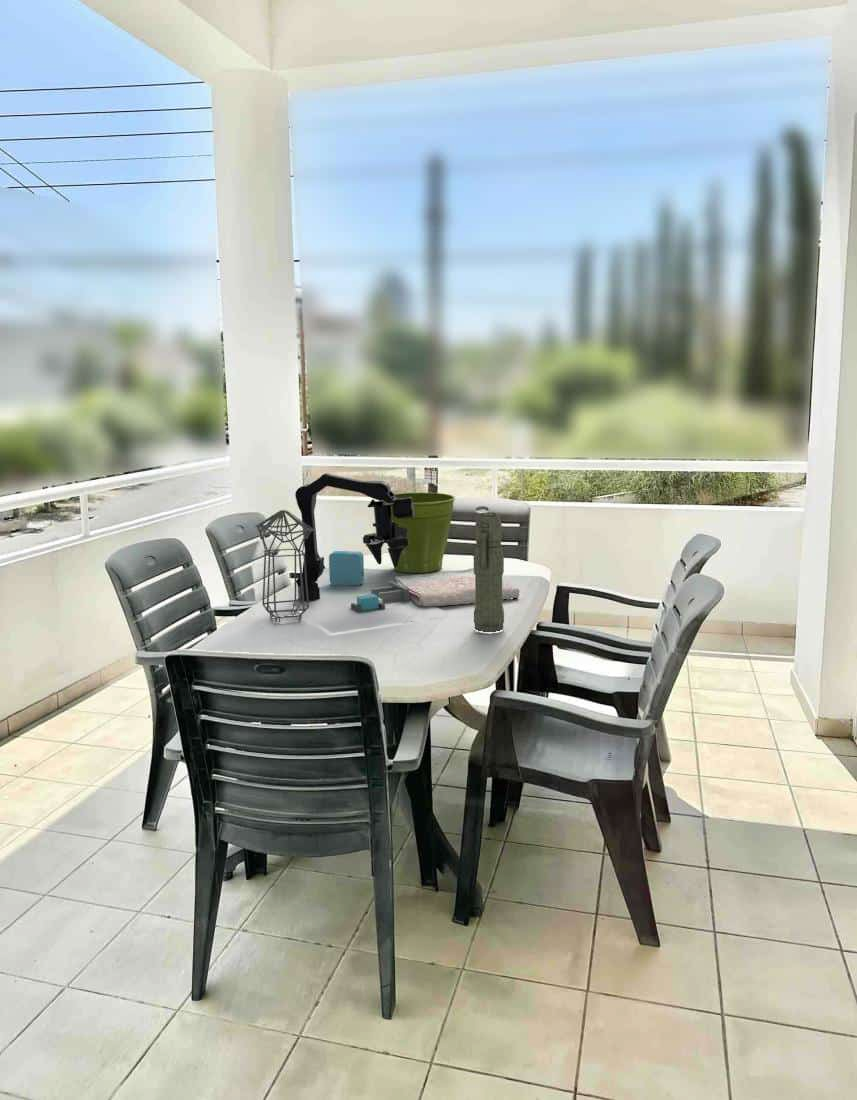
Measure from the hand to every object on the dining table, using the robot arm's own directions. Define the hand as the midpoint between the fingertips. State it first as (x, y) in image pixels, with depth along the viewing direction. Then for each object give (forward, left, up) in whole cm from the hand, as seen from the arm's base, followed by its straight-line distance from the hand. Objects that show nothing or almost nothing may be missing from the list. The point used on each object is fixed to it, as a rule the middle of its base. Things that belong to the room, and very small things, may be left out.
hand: (387, 565), depth 291 cm
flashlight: (+12, -46, -13) cm, 49 cm away
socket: (0, +2, -13) cm, 13 cm away
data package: (-2, +33, -13) cm, 35 cm away
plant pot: (+32, +43, -13) cm, 55 cm away
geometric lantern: (-36, -4, -13) cm, 39 cm away
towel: (+25, 0, -13) cm, 28 cm away
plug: (-10, -7, -12) cm, 17 cm away
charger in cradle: (-10, -7, -13) cm, 18 cm away
